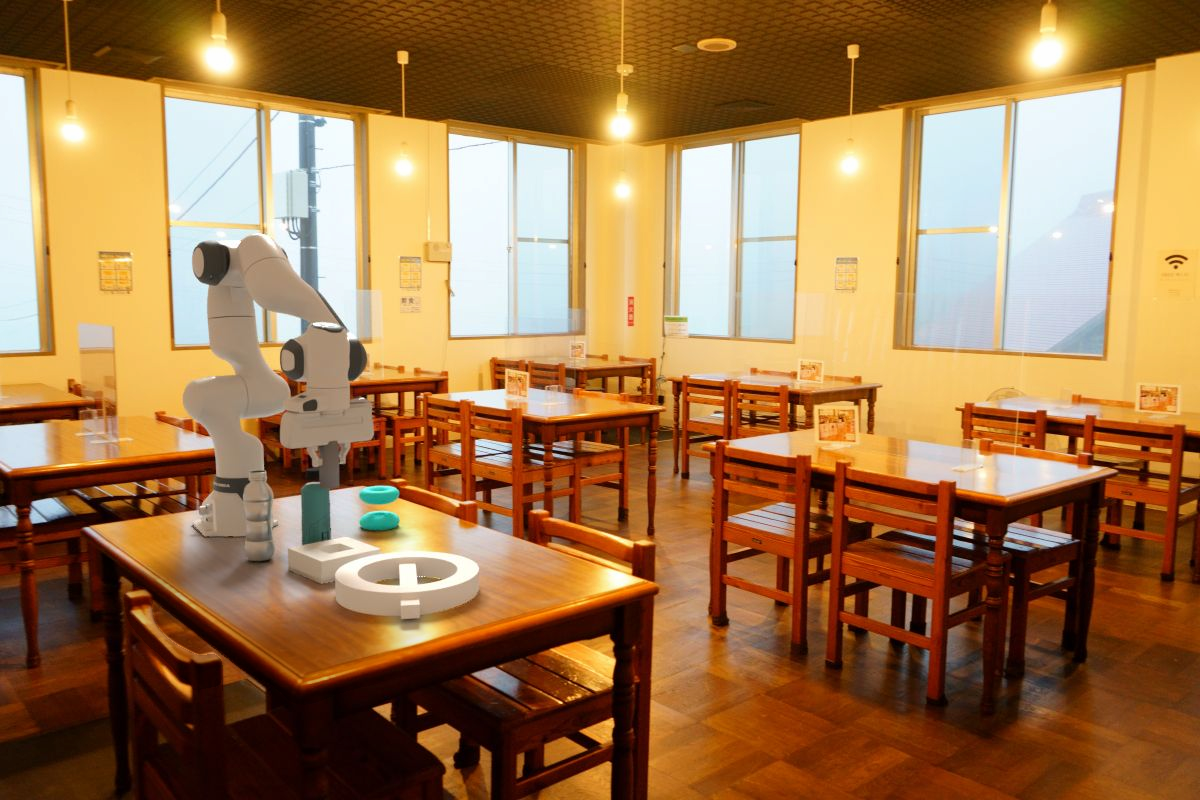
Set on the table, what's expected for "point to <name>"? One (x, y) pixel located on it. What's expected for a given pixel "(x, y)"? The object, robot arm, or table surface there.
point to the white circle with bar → (406, 583)
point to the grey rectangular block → (329, 465)
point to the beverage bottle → (315, 510)
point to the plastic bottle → (258, 518)
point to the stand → (327, 557)
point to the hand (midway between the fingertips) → (329, 465)
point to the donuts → (379, 518)
